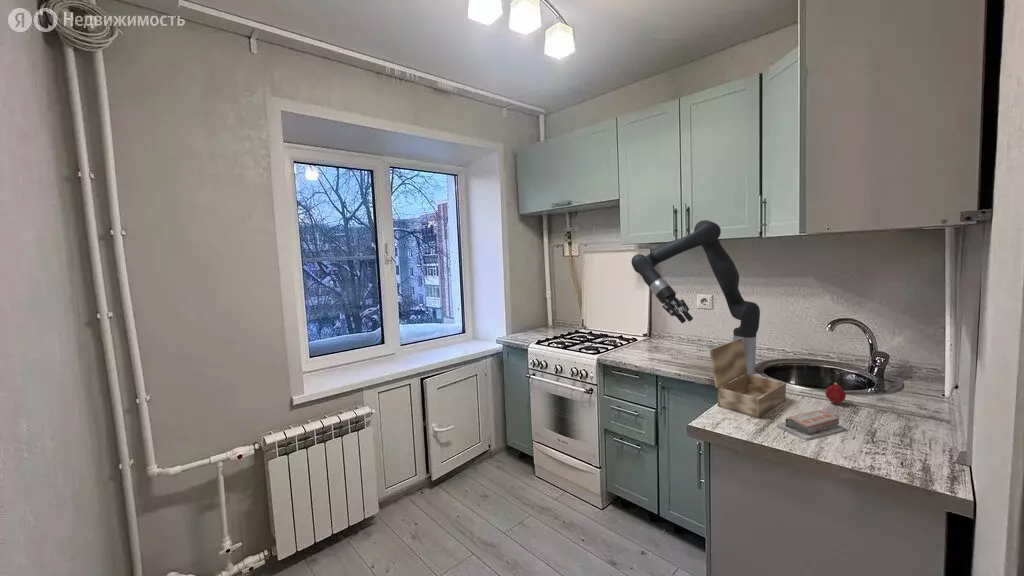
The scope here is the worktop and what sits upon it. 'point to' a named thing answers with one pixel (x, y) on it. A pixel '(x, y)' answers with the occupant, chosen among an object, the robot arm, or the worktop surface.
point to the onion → (835, 393)
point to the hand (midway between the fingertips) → (687, 320)
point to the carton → (752, 395)
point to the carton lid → (728, 362)
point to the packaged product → (811, 425)
